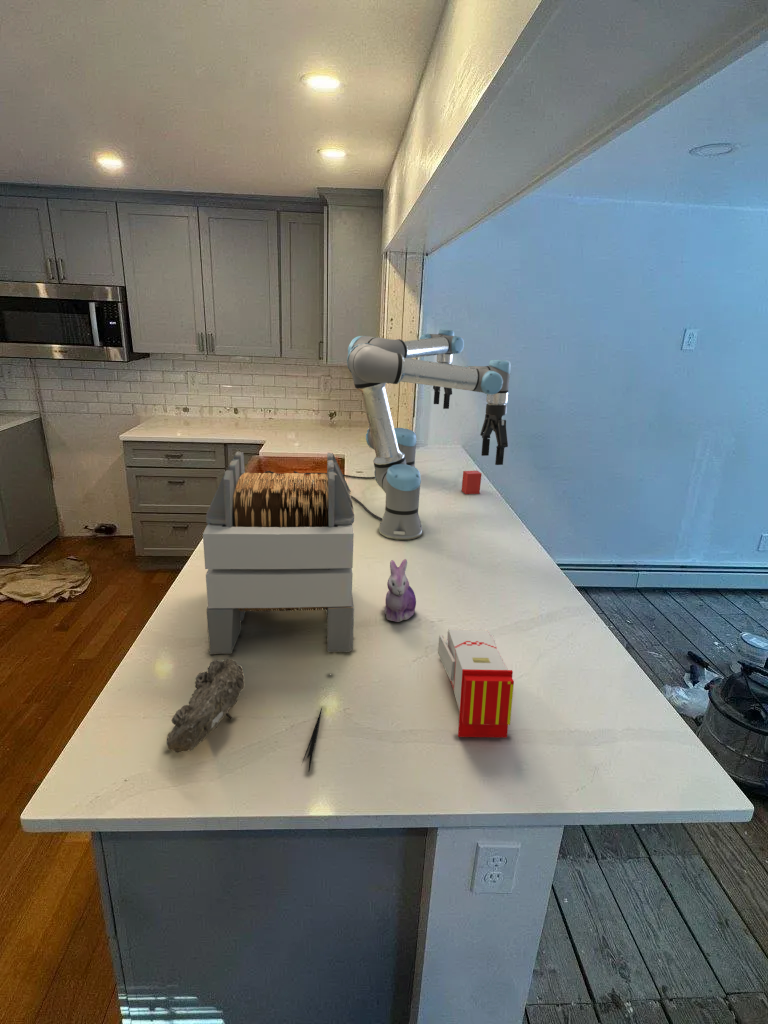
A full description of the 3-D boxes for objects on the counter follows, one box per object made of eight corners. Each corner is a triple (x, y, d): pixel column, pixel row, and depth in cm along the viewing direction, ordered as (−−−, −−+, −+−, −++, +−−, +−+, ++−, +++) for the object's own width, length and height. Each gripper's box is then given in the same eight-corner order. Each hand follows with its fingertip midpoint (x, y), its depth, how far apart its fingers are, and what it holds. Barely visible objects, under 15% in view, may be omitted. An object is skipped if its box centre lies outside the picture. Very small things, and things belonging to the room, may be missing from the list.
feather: (331, 679, 122) (336, 673, 122) (307, 777, 96) (313, 769, 95) (324, 675, 122) (329, 669, 121) (298, 772, 95) (304, 764, 95)
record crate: (229, 585, 158) (221, 442, 144) (346, 584, 161) (350, 444, 148) (206, 656, 126) (193, 481, 112) (353, 652, 130) (358, 483, 116)
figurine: (392, 627, 141) (395, 572, 136) (374, 608, 149) (376, 556, 144) (425, 619, 145) (429, 566, 140) (405, 601, 154) (408, 550, 149)
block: (479, 493, 248) (481, 473, 245) (465, 494, 246) (467, 473, 243) (475, 490, 252) (477, 470, 249) (461, 491, 251) (463, 470, 247)
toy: (488, 613, 130) (523, 677, 101) (484, 667, 133) (517, 744, 104) (435, 612, 130) (455, 676, 101) (432, 666, 133) (451, 743, 103)
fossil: (192, 660, 117) (244, 628, 112) (224, 691, 120) (276, 661, 115) (142, 746, 98) (202, 712, 93) (182, 779, 101) (242, 748, 96)
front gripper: (521, 409, 197) (515, 468, 204) (492, 398, 220) (488, 451, 227) (500, 409, 195) (495, 469, 203) (474, 398, 218) (470, 452, 226)
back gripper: (461, 365, 267) (457, 410, 274) (442, 360, 290) (439, 402, 297) (446, 365, 265) (443, 410, 272) (428, 360, 288) (425, 402, 295)
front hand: (491, 460), depth 215 cm, fingers open, 13 cm apart
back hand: (441, 406), depth 285 cm, fingers open, 13 cm apart
